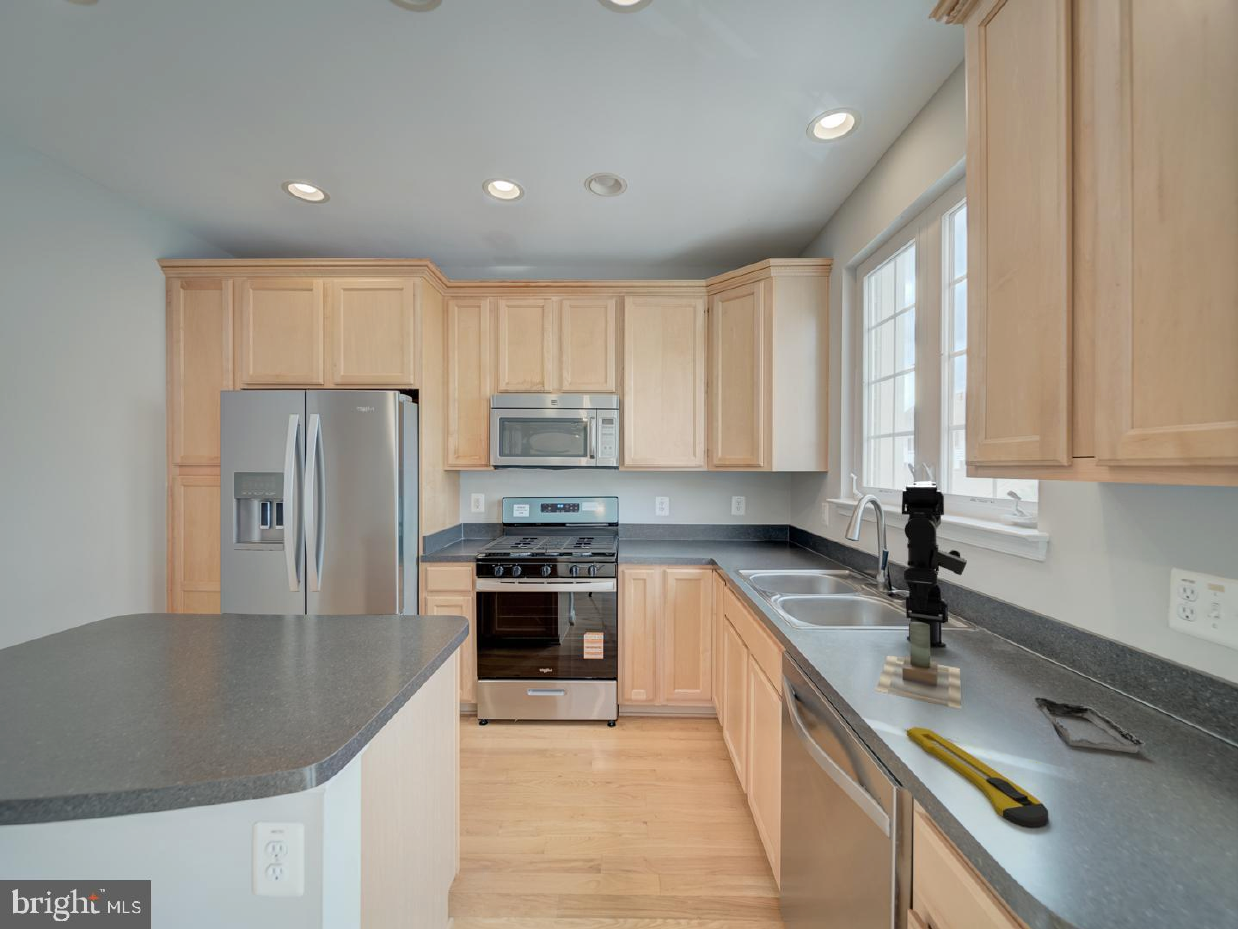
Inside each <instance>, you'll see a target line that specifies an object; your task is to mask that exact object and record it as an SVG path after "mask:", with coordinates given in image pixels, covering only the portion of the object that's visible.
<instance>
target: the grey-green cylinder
mask: <svg viewBox="0 0 1238 929" xmlns="http://www.w3.org/2000/svg"><path fill="white" fill-rule="evenodd" d="M909 623H910V640H909V647H910V648H909V650H910V652H909V654H910V655H909V656H908V655H905V656H904V658H905V659H904V663H903V668H902V672H903V680H906V681H911V682H916V683H921V684H926V685H930V686H935V687H937V674H938V666H937V664H938V661H937V660H931V647H930V625H928V624H926V623H922V622H909Z"/></svg>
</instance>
